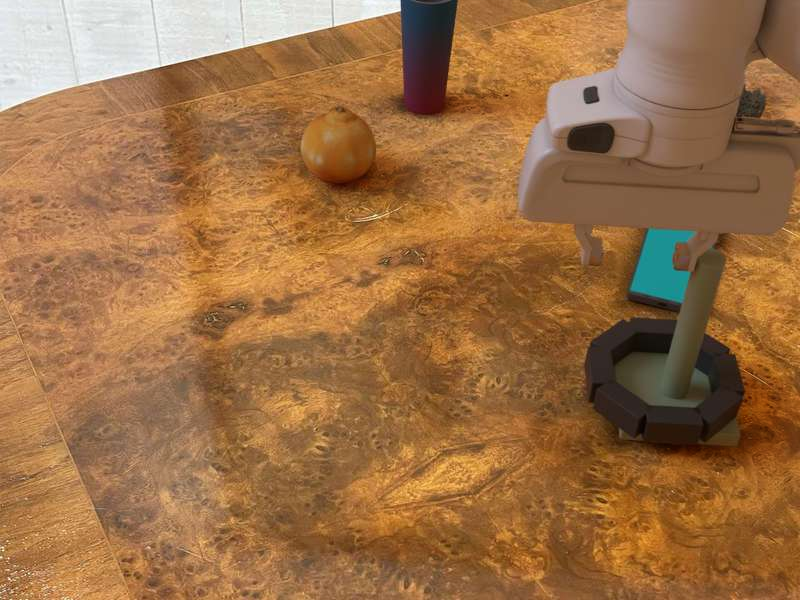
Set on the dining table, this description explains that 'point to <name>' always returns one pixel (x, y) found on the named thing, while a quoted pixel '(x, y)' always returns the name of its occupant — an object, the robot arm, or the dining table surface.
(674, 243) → the smartphone
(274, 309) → the dining table surface
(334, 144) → the fruit
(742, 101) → the cup
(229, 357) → the dining table surface
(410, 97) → the cup
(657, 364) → the post
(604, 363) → the ring
